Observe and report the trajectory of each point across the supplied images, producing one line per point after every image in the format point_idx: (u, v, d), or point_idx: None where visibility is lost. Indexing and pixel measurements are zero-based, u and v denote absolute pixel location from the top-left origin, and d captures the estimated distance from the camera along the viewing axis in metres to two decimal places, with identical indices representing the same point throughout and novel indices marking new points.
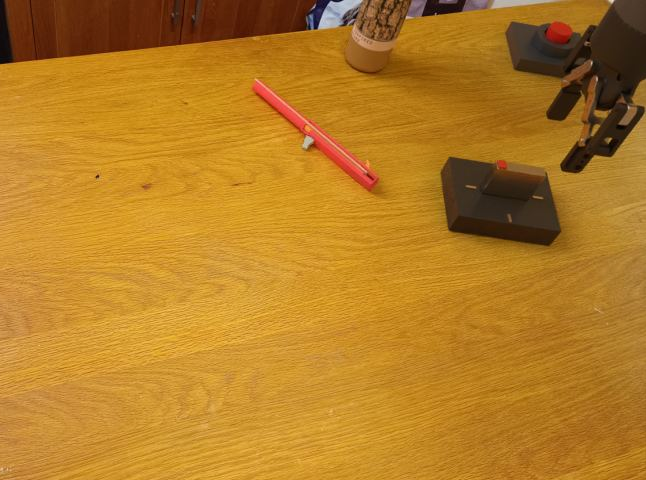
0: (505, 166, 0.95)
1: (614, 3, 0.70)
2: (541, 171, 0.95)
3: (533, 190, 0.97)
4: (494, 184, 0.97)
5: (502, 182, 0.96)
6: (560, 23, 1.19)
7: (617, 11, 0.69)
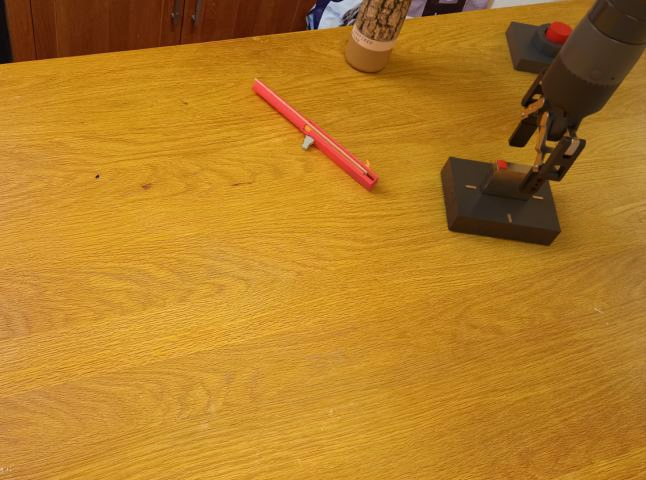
0: (505, 166, 0.95)
1: (560, 52, 0.82)
2: None
3: None
4: (494, 184, 0.97)
5: (502, 182, 0.96)
6: (560, 23, 1.19)
7: (562, 59, 0.81)
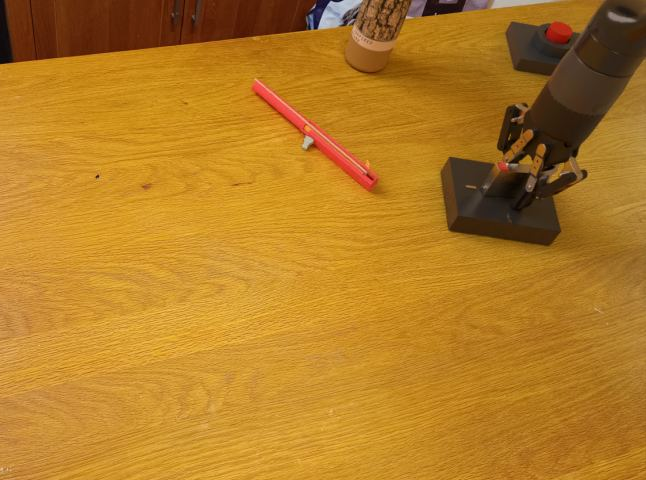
0: (506, 168, 0.94)
1: (551, 92, 0.84)
2: None
3: None
4: (495, 186, 0.97)
5: (503, 184, 0.96)
6: (560, 23, 1.19)
7: (558, 100, 0.83)
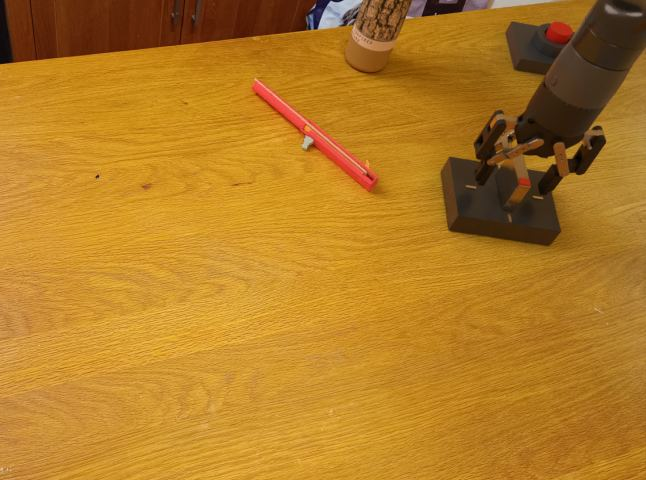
0: (528, 180, 0.94)
1: (577, 106, 0.82)
2: None
3: None
4: None
5: None
6: (560, 23, 1.19)
7: (589, 108, 0.82)
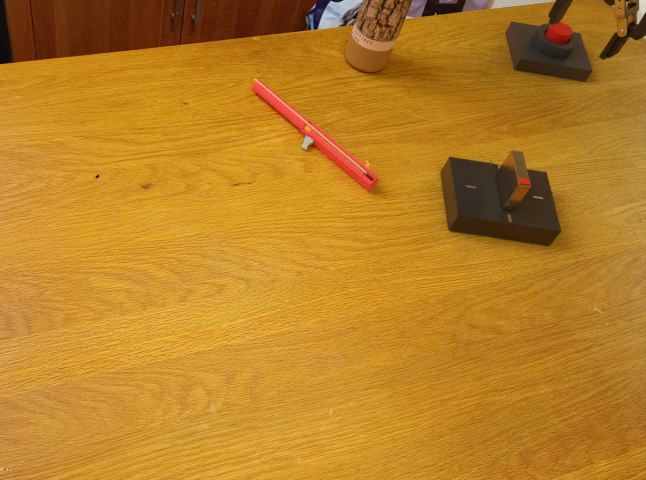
0: (528, 180, 0.94)
1: None
2: (518, 153, 0.97)
3: None
4: None
5: None
6: (560, 23, 1.19)
7: None
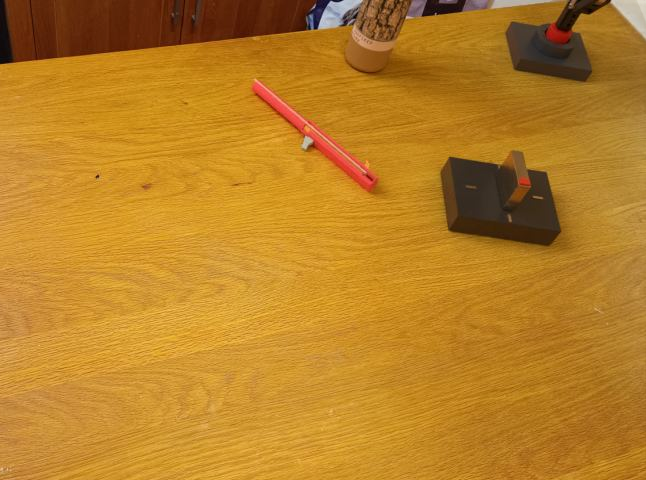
0: (528, 180, 0.94)
1: None
2: (518, 153, 0.97)
3: None
4: None
5: None
6: None
7: None
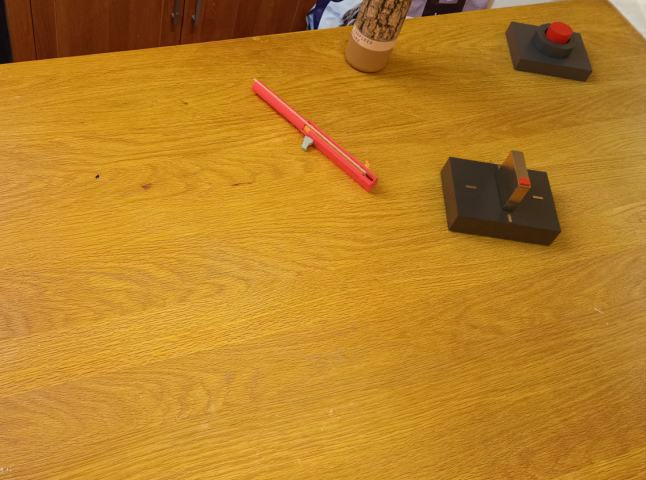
0: (528, 180, 0.94)
1: None
2: (518, 153, 0.97)
3: None
4: None
5: None
6: (560, 23, 1.19)
7: None
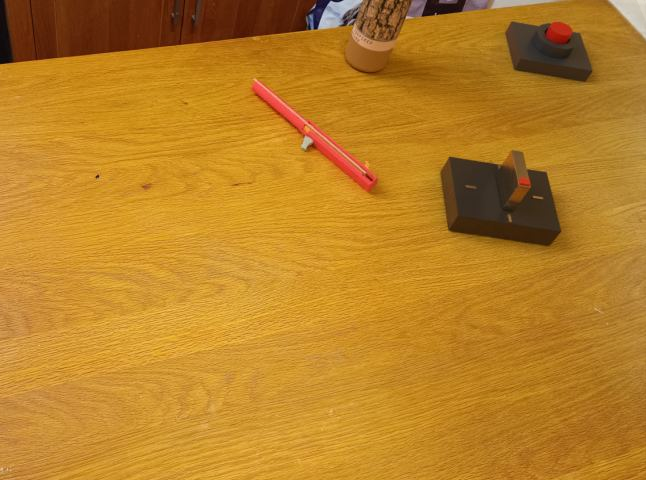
0: (528, 180, 0.94)
1: None
2: (518, 153, 0.97)
3: None
4: None
5: None
6: (560, 23, 1.19)
7: None
